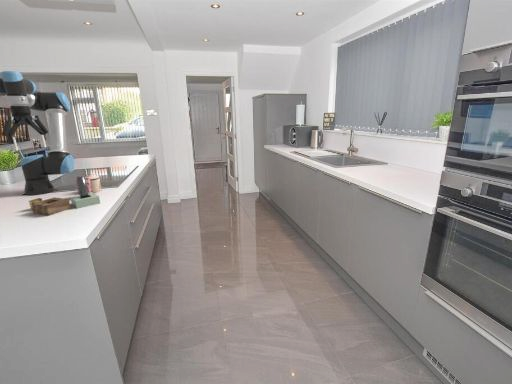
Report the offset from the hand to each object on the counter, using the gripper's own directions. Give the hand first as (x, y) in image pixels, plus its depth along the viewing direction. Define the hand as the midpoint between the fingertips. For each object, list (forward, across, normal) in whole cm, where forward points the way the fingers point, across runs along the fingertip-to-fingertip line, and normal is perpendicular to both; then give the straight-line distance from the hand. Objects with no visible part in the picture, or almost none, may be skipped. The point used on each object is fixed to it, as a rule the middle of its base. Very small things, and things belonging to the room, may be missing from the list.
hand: (30, 148), depth 139 cm
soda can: (+31, +17, -11) cm, 37 cm away
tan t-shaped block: (+29, -6, -7) cm, 31 cm away
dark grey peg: (+30, +7, -22) cm, 38 cm away
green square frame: (+30, +7, -22) cm, 38 cm away
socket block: (+30, -6, -15) cm, 34 cm away
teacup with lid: (+31, +29, -3) cm, 42 cm away
